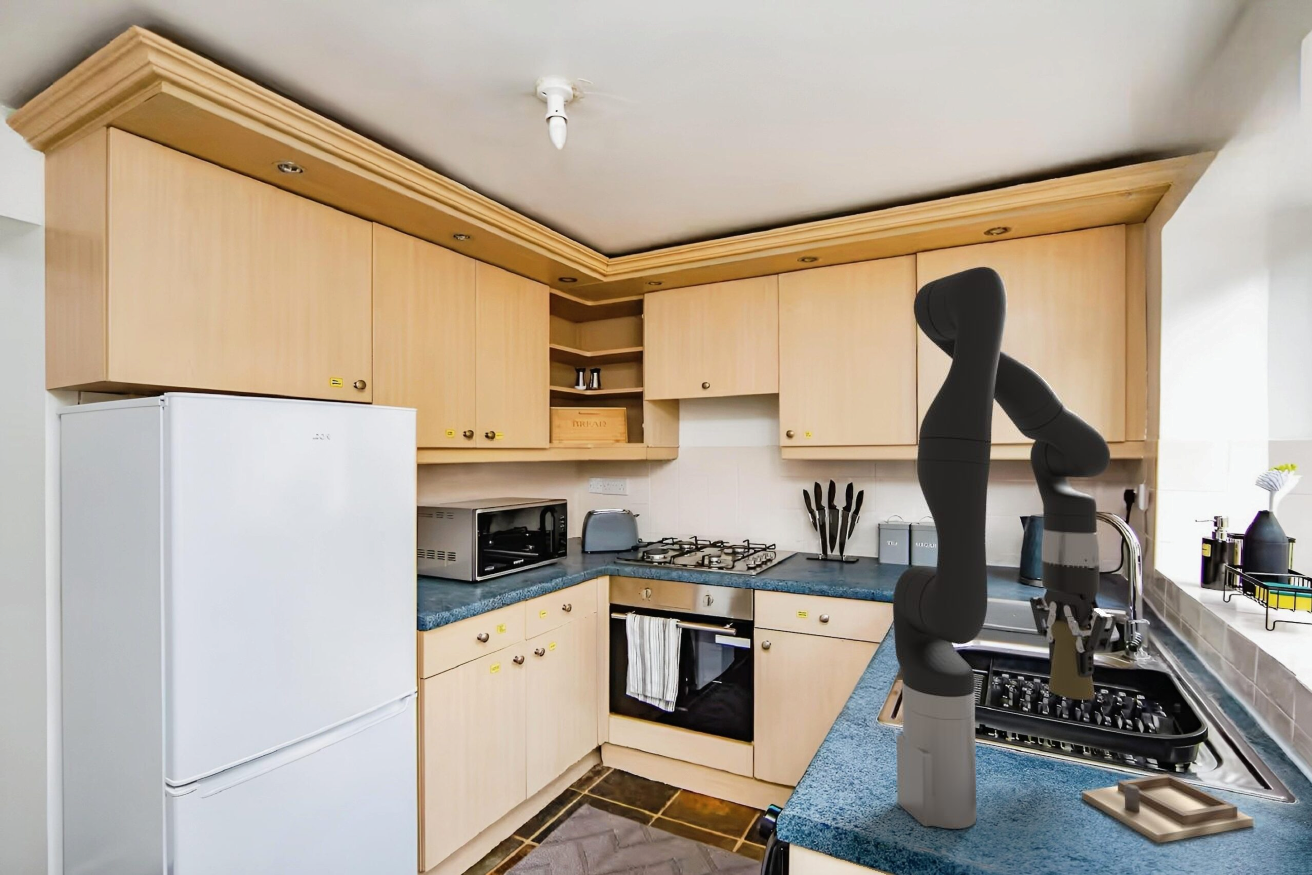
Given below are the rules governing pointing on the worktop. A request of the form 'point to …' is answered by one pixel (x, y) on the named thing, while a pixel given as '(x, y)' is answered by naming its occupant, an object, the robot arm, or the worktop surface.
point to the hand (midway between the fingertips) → (1071, 670)
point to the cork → (1068, 665)
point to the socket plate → (1167, 808)
